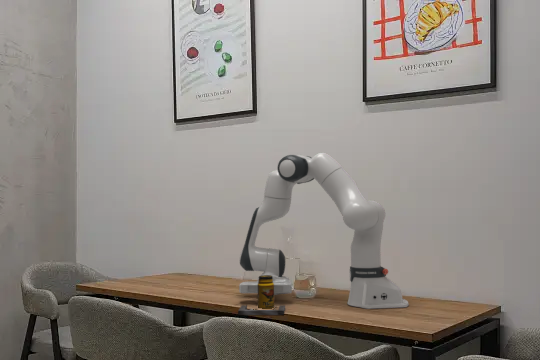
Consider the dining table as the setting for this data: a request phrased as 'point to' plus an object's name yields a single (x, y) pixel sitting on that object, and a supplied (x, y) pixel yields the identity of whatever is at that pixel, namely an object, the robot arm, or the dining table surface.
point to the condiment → (265, 292)
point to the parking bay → (261, 311)
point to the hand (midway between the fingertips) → (264, 290)
